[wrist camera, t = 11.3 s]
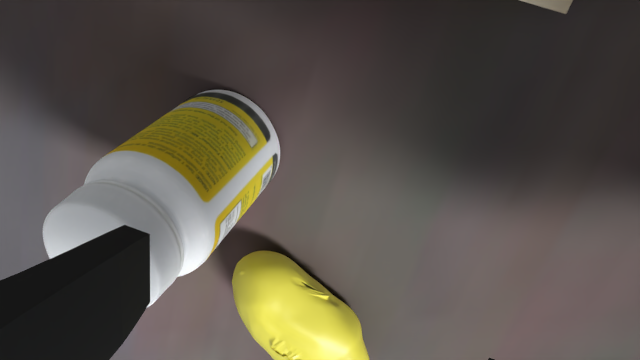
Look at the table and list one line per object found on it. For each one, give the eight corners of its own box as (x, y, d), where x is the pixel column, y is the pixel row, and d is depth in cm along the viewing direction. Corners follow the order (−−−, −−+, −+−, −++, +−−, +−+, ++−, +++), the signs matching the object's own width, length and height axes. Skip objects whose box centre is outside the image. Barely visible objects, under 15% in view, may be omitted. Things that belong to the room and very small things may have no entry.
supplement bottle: (167, 90, 22) (3, 188, 15) (269, 82, 20) (137, 189, 13) (199, 190, 24) (68, 316, 17) (293, 190, 22) (190, 331, 15)
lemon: (288, 217, 23) (250, 271, 20) (400, 340, 24) (382, 409, 21) (232, 254, 25) (190, 308, 22) (337, 365, 27) (312, 431, 24)
